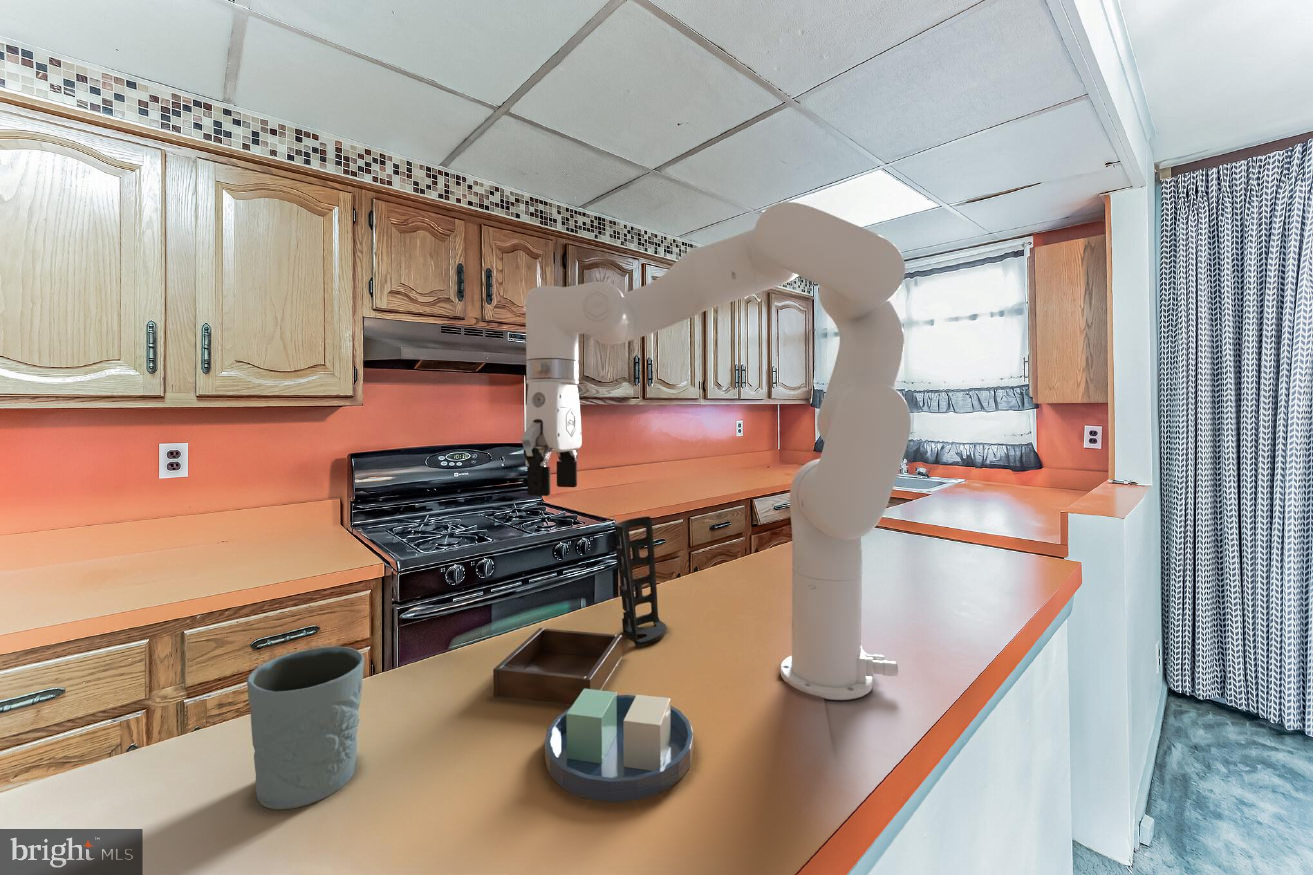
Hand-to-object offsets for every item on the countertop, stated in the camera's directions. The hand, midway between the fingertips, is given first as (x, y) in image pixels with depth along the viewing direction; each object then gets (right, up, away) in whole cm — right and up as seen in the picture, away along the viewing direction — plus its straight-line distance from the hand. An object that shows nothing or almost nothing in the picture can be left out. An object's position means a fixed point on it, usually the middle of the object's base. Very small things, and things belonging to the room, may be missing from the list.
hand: (553, 490), depth 79 cm
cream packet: (+14, -27, -20) cm, 36 cm away
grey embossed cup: (-21, -28, -24) cm, 42 cm away
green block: (+8, -27, -19) cm, 34 cm away
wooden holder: (+2, -27, -2) cm, 27 cm away
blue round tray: (+11, -27, -19) cm, 35 cm away
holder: (+12, -27, +14) cm, 33 cm away
